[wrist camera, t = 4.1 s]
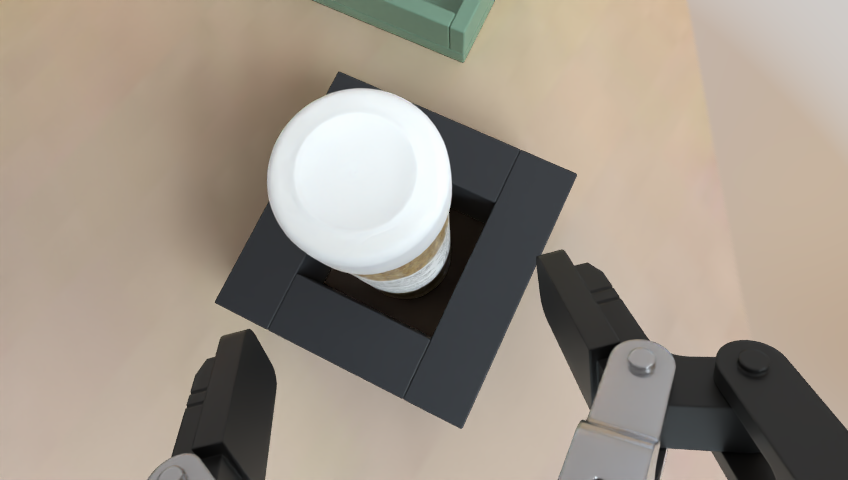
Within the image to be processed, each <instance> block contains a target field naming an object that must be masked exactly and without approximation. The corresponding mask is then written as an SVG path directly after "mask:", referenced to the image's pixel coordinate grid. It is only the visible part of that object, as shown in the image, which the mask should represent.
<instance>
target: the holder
mask: <svg viewBox="0 0 848 480" xmlns="http://www.w3.org/2000/svg"><path fill="white" fill-rule="evenodd" d="M354 88H369V89H376V90H381V89H379V88H376V87H374V86H372V85H369V84H367V83H365V82H363V81H360V80H358V79H356V78H353V77H351V76H349V75H346V74H344V73H342V72H338V73H337V75H336V77H335V79H334V81H333V83H332V85H331V86H330V88H329V90H328V92H327V94H330V93H333V92H337V91H341V90H346V89H354ZM382 91H383V90H382ZM327 94H326V95H327ZM412 104H413V105H415V106H416V107H417V108H419V109H420V110H421V111H422V112H423V113H424V114H426V115H427V116H428V118H429V119H430V120H431V121H432V123H433V124H434V125H435V127H436V128H437V130H438V132H439V133H440V135H441V137H442V139H443V141H444V144H445V146H446V150H447V153H448V157H449V162H450V169H451V178H452V197H451V205H450V208H452V209H454V210H456V211H458V212H461V213H463V214H465V215H467V216H469V217H472V218H474V219H476V220H478V221H480V222H483V223H485V226H484V228H483V230H482V232H481V234H480V237H479V239H478V241H477V243H476V245H475V247H474V249H473V251H472V253H471V256H470V258H469V260H468V262H467V264H466V266H465V268H464V270H463V273H462V275H461V277H460V279H459V281H458V283H457V285H456V287H455V289H454V292H453V294H452V296H451V298H450V300H449V302H448V304H447V306H446V308H445V311H444V313H443V315H442V317H441V319H440V321H439V323H438V325H437V328H436V330H435V332H434V334H433V336H432V337H431V336H429V335H427V334H425V333H423V332H421V331H419V330H417V329H415V328H413V327H411V326H409V325H407V324H405V323H403V322H401V321H399V320H397V319H395V318H393V317H391V316H388V315H386V314H384V313H382V312H380V311H378V310H376V309H374V308H372V307H370V306H368V305H366V304H364V303H362V302H360V301H358V300H356V299H354V298H352V297H350V296H348V295H346V294H344V293H342V292H340V291H338V290H336V289H334V288H332V287H329V286H327V285H325V284H323V283H324V281H325V280H326V278H327V276H328V274H329V272H330V270H331V267H329V266H327V265H325V264H323V263H321V262H320V261H318V260H316V259H314V258H313V257H311V256H310V255H308V254H307V253H305V252H304V251H303V250H301V249H300V248H299V247H297V246H296V245H295V244H294V243H293V242H292V241H291V240H290V239H289V238H288V237H287V236H286V234H285V233H284V231H283V230H282V228H281V227H280V225H279V223H278V222H277V220H276V218H275V216H274V214H273V211H272V209H271V205H270V202H268V204H267V206H266V208H265V209H264V211H263V213H262V215H261V217H260V219H259V221H258V222H257V224H256V226H255V228H254V230H253V232H252V234H251V235H250V237H249V239H248V241H247V243H246V245H245V247H244V248H243V250H242V252H241V254H240V256H239V258H238V260H237V262H236V263H235V265H234V267H233V269H232V271H231V273H230V275H229V276H228V278H227V280H226V282H225V284H224V286H223V288H222V289H221V291H220V293H219V295H218V297H217V299H216V301H215V303H216V304H218V305H220V306H222V307H224V308H226V309H228V310H230V311H232V312H234V313H236V314H238V315H240V316H242V317H244V318H246V319H247V320H249V321H251V322H253V323H255V324H257V325H259V326H261V327H263V328H265V329H268V330H269V331H271V332H273V333H275V334H277V335H279V336H281V337H282V338H284V339H286V340H288V341H290V342H292V343H294V344H296V345H298V346H300V347H302V348H304V349H306V350H308V351H310V352H312V353H314V354H316V355H318V356H320V357H322V358H324V359H325V360H327V361H329V362H331V363H333V364H335V365H337V366H339V367H341V368H343V369H345V370H347V371H349V372H351V373H353V374H355V375H357V376H359V377H361V378H363V379H365V380H366V381H368V382H370V383H372V384H374V385H376V386H378V387H380V388H382V389H384V390H386V391H388V392H390V393H392V394H394V395H396V396H398V397H400V398H403V399H404V400H406V401H408V402H409V403H411V404H413V405H415V406H417V407H419V408H421V409H423V410H425V411H427V412H429V413H431V414H433V415H435V416H437V417H439V418H441V419H443V420H445V421H447V422H449V423H451V424H452V425H454V426H456V427H458V428H460V429H462V428H463V426H464V424H465V422H466V419H467V417H468V415H469V413H470V411H471V408H472V406H473V404H474V402H475V399H476V397H477V395H478V393H479V391H480V388H481V386H482V384H483V382H484V380H485V377H486V375H487V373H488V371H489V369H490V366H491V364H492V362H493V360H494V358H495V355H496V353H497V351H498V349H499V347H500V344H501V342H502V340H503V338H504V335H505V333H506V331H507V329H508V327H509V324H510V322H511V320H512V318H513V316H514V313H515V311H516V309H517V307H518V305H519V302H520V300H521V298H522V296H523V294H524V291H525V289H526V287H527V285H528V283H529V280H530V278H531V276H532V274H533V271H534V269H535V267H536V257H537V256H539V255H541V254H542V252H543V249H544V247H545V245H546V243H547V241H548V238H549V236H550V234H551V232H552V230H553V227H554V225H555V223H556V221H557V219H558V216H559V214H560V212H561V210H562V208H563V205H564V203H565V201H566V199H567V196H568V194H569V192H570V190H571V188H572V185H573V183H574V181H575V179H576V177H577V174H576V173H574V172H571V171H569V170H567V169H564V168H562V167H560V166H557V165H555V164H553V163H550V162H548V161H546V160H543V159H541V158H539V157H537V156H534V155H532V154H530V153H527V152H525V151H523V150H520V149H518V148H516V147H513V146H511V145H509V144H506V143H504V142H502V141H499V140H497V139H495V138H492V137H490V136H488V135H485V134H483V133H481V132H479V131H476V130H474V129H472V128H469V127H467V126H465V125H462V124H460V123H458V122H455V121H453V120H451V119H448V118H446V117H444V116H441V115H439V114H437V113H435V112H432V111H430V110H428V109H425V108H423V107H421V106H418V105H416V104H414V103H412Z"/></svg>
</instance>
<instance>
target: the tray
mask: <svg viewBox="0 0 848 480" xmlns="http://www.w3.org/2000/svg"><path fill="white" fill-rule="evenodd" d="M313 1H315V2H318V3H320V4H323V5H325V6H327V7H330V8H332V9H335V10H337V11H340V12H342V13H344V14H347V15H349V16H352V17H354V18H356V19H359V20H361V21H364V22H366V23H368V24H371V25H373V26H376V27H378V28H380V29H383V30H385V31H388V32H390V33H393V34H395V35H397V36H400V37H402V38H405V39H407V40H409V41H412V42H414V43H417V44H419V45H421V46H424V47H426V48H429V49H431V50H433V51H436V52H438V53H441V54H443V55H445V56H448V57H450V58H453V59H455V60H458V61H460V62H462V63H463V62H464V61H465V59H466V57H467V55H468V53H469V51H470V49H471V47H472V45H473V43H474V41H475V39H476V37H477V35H478V33H479V31H480V29H481V27H482V25H483V23H484V21H485V19H486V17H487V15H488V13H489V11H490V9H491V7H492V5H493V3H494V1H495V0H313Z"/></svg>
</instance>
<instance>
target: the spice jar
mask: <svg viewBox="0 0 848 480" xmlns="http://www.w3.org/2000/svg"><path fill="white" fill-rule="evenodd" d="M267 190H268V197H269V202H270V205H271V209H272V211H273V214H274V216H275V218H276V220H277V222H278V223H279V225H280V227H281V228H282V230H283V231H284V233H285V234H286V236H287V237H288V238H289V239H290V240H291V241H292V242H293V243H294V244H295V245H296V246H297V247H299V248H300V249H301V250H303V251H304V252H305V253H307V254H308V255H310V256H311V257H313V258H314V259H316V260H318V261H320V262H321V263H323V264H325V265H327V266H329V267H331V268H333V269H336V270H339V271H342V272H347V273H350V274H352V275H354V276H355V277H357V278H359V279H360V280H362V281H364V282H365V283H367V284H369V285H371V286H373V287H374V288H375V289H377V290H378V291H380V292H382V293H383V294H385V295H386V296H389V297H394V298H399V299H413V298H416V297H421V296H424V295H425V294H427V293H428V292H430V291H432V290H433V289H434V288H436V287H437V286H438V285H439V284H440V283H441V281H442V280H443V279H444V277H445V276H446V274H447V272H448V269H449V266H450V261H451V253H452V248H451V242H450V225H449V209H450V205H451V197H452V178H451V169H450V162H449V157H448V153H447V150H446V146H445V144H444V141H443V139H442V137H441V135H440V133H439V132H438V130H437V128H436V127H435V125H434V124H433V123H432V121H431V120H430V119H429V118H428V116H427V115H426V114H424V113H423V112H422V111H421V110H420V109H419V108H417V107H416V106H415V105H413V104H412V103H411V102H409V101H407V100H405V99H404V98H402V97H400V96H397V95H395V94H392V93H390V92H386V91H382V90H376V89H369V88H354V89H346V90H341V91H337V92H333V93H330V94H327V95H325V96H323V97H321V98H319V99H317V100H315V101H313V102H311V103H310V104H308V105H307V106H305V107H304V108H303V109H302V110H300V111H299V112H298V113H297V114H296V115H295V116H294V117H293V118H292V119H291V120H290V121H289V122H288V124H287V125H286V126H285V127H284V129H283V130H282V132H281V133H280V135H279V137H278V139H277V140H276V143H275V145H274V147H273V150H272V153H271V156H270V160H269V165H268V171H267Z"/></svg>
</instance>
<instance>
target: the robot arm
mask: <svg viewBox="0 0 848 480" xmlns="http://www.w3.org/2000/svg"><path fill="white" fill-rule="evenodd" d="M536 265H537V273H538V281H539V289H540V297H541V303H542V307H543V310H544V313H545V316H546V319H547V321H548V323H549V325H550V327H551V329H552V331H553V333H554V336H555V338H556V340H557V342H558V344H559V346H560V348H561V350H562V352H563V354H564V356H565V359H566V361H567V363H568V365H569V367H570V369H571V371H572V373H573V375H574V377H575V380H576V382H577V384H578V386H579V388H580V390H581V392H582V394H583V396H584V398H585V401H586V403H587V405H588V407H589V409H590V413H589V415H588V418H587V420H586V421H585V420H581V421H580V423H579V424H578V426H577V428H576V431H575V434H574V436H573V439H572V442H571V445H570V448H569V450H568V453H567V456H566V459H565V461H564V464H563V467H562V470H561V472H560V475H559V478H558V480H661V479H662V475H663V470H664V466H665V461H666V457H667V452H668V448H671V449H687V450H703V451H711V452H712V453H713V455H714V457H715V458H716V460H717V462H718V464H719V465H720V467H721V469H722V471H723V472H724V474H725V476H726V477H727V479H728V480H848V430H847V429H846V428H845V427H844V426H843V424H842V423H841V422H840V421H839V420H838V419H837V417H836V416H835V415H834V414H833V413H832V411H831V410H830V409H829V408H828V407H827V406H826V404H825V403H824V402H823V401H822V400H821V399H820V397H819V396H818V395H817V394H816V393H815V391H814V390H813V389H812V388H811V386H810V385H809V384H808V383H807V382H806V381H805V379H804V378H803V377H802V376H801V375H800V373H799V372H798V371H797V370H796V369H795V368H794V366H793V365H792V364H791V363H790V362H789V361H788V359H787V358H786V357H785V356H784V355H783V354H782V353H781V352H779V351H778V350H776V349H775V348H773V347H771V346H769V345H766V344H764V343H761V342H756V341H750V340H739V341H733V342H730V343H728V344H725V345H724V346H723V347H721V348H720V349H719V351H718V353H717V356H716V357H686V356H679V355H674V354H671V353H670V352H669V351H668V350H667V349H666V348H664V347H663V346H661V345H659V344H657V343H655V342H652V341H650V340H649V339H648V338H647V336H646V335H645V334H644V332H643V331H642V329H641V328H640V326H639V325H638V323H637V322H636V320H635V319H634V317H633V316H632V314H631V313H630V311H629V310H628V309H627V307H626V306H625V304H624V303H623V301H622V300H621V299H620V298H619V295H618V294H617V292H616V291H615V289H614V288H612V285H611V283H610V282H609V281H608V279H607V278H606V276H605V275H604V273H603V272H602V271H600V270H599V269H597V268H595V267H594V266H592V265H591V264H589V263H584V264H580V265H576V266H574V265H573V263H572V261H571V260H570V258H569V257H568V255H567V253H566V252H565V251H564V250H558V251H555V252H551V253H547V254H543V255H539V256H537V257H536ZM276 387H277V382H276V375H275V371H274V368H273V366H272V364H271V362H270V360H269V358H268V357H267V355H266V353H265V351H264V350H263V348H262V346H261V344H260V342H259V341H258V339H257V337H256V335H255V334H254V332H253V331H252V330H250V329H247V330H243V331H239V332H235V333H231V334H228V335H224V336H222V337H221V338H220V341H219V345H218V349H217V352H216V356H215V357H213V358H209V359H207V360H206V361H205V362H204V364H203V365H202V367H201V368H200V370H199V371H198V372H197V374H196V375H195V378H194V382H193V385H192V388H191V395H189V399H188V402H187V408H186V409H185V412H184V415H183V419H182V422H181V426H180V429H179V432H178V436H177V439H176V443H175V446H174V449H173V453H172V456H171V458H170V459H168V460H166V461H165V462H163V463H162V464H161V465H160V466H158V467H157V468H156V469H155V470H154V471H153V473H152V474H151V475H150V477H149V478H148V480H265V475H266V467H267V459H268V452H269V444H270V436H271V428H272V420H273V412H274V404H275V396H276Z"/></svg>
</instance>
